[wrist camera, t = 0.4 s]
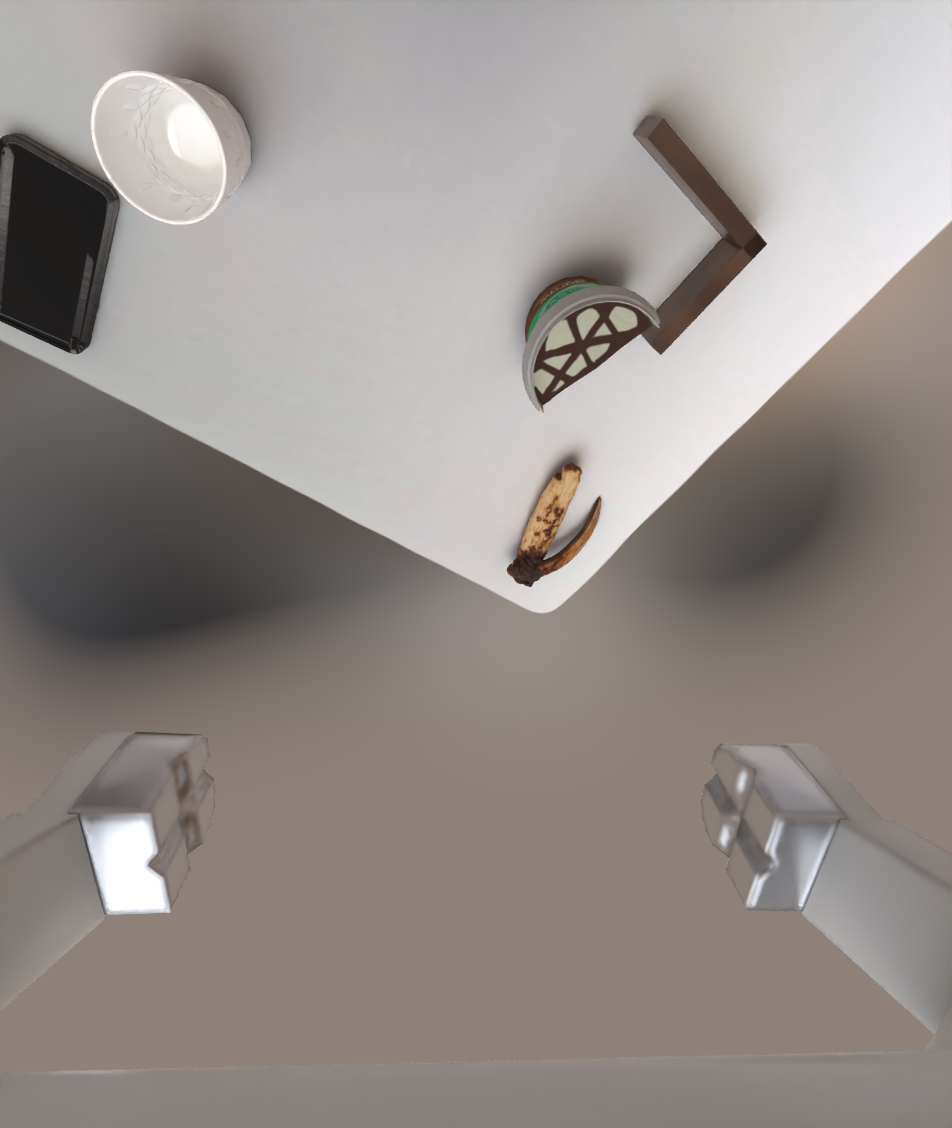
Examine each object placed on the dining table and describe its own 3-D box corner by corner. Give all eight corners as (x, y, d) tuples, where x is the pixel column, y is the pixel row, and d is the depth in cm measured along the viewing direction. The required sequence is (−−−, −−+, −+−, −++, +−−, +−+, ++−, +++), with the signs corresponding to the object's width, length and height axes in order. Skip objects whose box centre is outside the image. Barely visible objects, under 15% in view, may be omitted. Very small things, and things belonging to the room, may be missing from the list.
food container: (597, 228, 49) (629, 255, 42) (630, 287, 53) (666, 323, 45) (485, 322, 54) (495, 362, 46) (522, 371, 57) (537, 416, 49)
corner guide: (646, 115, 44) (663, 118, 41) (746, 233, 50) (767, 244, 47) (547, 247, 50) (555, 258, 47) (648, 340, 56) (661, 355, 53)
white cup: (211, 48, 40) (161, 40, 33) (281, 170, 45) (252, 188, 37) (125, 108, 42) (59, 114, 34) (201, 219, 47) (158, 246, 39)
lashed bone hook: (561, 578, 76) (621, 466, 65) (568, 603, 73) (633, 490, 62) (495, 567, 74) (546, 449, 63) (500, 593, 70) (554, 473, 59)
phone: (-19, 312, 49) (-1, 127, 41) (-11, 308, 50) (8, 126, 42) (83, 359, 52) (118, 195, 44) (89, 354, 53) (123, 193, 45)
